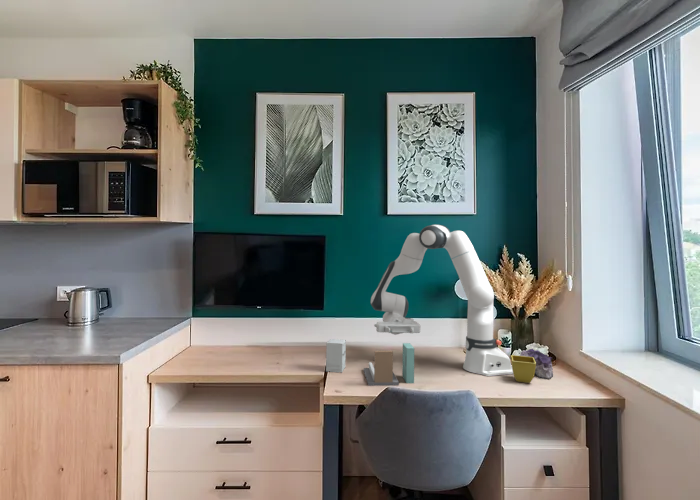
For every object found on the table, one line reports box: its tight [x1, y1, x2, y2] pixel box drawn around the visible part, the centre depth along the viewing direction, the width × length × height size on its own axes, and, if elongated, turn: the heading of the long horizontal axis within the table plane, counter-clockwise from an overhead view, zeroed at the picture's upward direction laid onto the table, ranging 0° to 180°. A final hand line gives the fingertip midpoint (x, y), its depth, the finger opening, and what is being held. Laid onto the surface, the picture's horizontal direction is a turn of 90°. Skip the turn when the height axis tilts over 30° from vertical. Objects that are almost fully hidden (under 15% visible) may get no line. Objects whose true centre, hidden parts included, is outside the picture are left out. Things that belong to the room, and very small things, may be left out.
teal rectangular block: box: [401, 342, 415, 384], centre depth 159 cm, size 3×8×14 cm, turn 4°
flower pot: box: [510, 354, 536, 384], centre depth 159 cm, size 9×9×9 cm
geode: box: [519, 348, 554, 380], centre depth 171 cm, size 20×12×10 cm, turn 178°
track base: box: [363, 350, 400, 387], centre depth 161 cm, size 12×18×13 cm, turn 4°
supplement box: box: [325, 338, 347, 373], centre depth 170 cm, size 7×7×13 cm
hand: (401, 331), depth 172 cm, fingers open, 8 cm apart
